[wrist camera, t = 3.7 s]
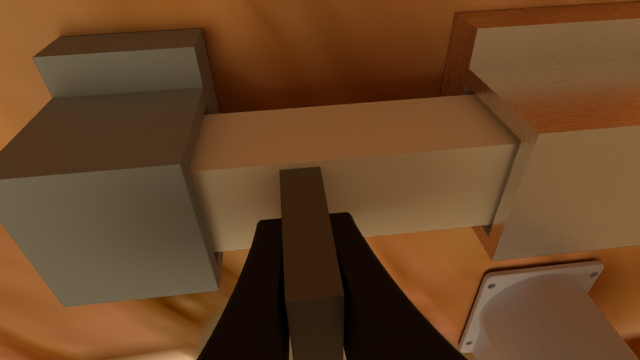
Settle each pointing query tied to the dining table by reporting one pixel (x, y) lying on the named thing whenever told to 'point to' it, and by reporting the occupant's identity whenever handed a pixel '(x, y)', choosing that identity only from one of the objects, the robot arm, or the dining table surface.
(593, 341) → the robot arm
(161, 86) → the slate stepped block
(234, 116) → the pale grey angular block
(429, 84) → the dining table surface
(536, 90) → the beige stepped block
